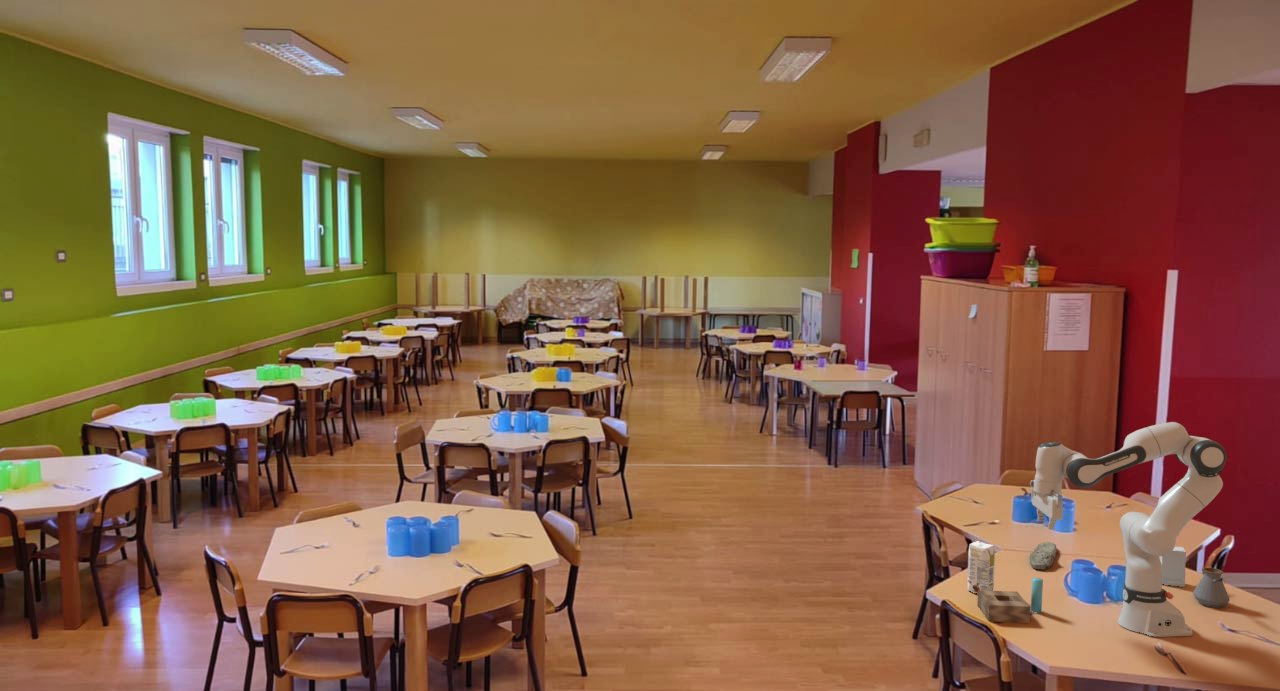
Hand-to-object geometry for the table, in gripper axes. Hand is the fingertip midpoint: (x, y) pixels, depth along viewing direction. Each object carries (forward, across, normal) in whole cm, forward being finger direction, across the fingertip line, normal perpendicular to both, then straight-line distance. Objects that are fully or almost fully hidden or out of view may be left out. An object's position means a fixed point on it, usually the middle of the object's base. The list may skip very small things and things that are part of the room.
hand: (1045, 525), depth 307 cm
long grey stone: (+34, +63, -24) cm, 76 cm away
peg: (+34, +4, 0) cm, 34 cm away
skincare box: (+33, +37, -63) cm, 80 cm away
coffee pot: (+33, +13, -66) cm, 75 cm away
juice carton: (+34, +22, +15) cm, 43 cm away
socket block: (+34, 0, +13) cm, 36 cm away
